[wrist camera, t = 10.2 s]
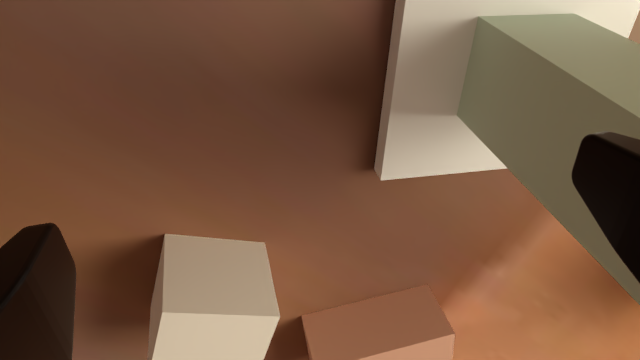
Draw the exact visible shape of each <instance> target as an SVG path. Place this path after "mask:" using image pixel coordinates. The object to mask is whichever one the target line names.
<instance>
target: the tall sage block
mask: <svg viewBox="0 0 640 360" xmlns="http://www.w3.org/2000/svg"><path fill="white" fill-rule="evenodd" d="M457 116H458V117H459V119H460V120H461V121H462V122H463V123H464V124H465V125H466V126H467V127H468V128H469V129H470V130H471V131H472V132H473V133H474V134H475V135H476V136H477V137H478V138H479V139H480V140H481V141H482V142H483V143H484V144H485V145H486V146H487V147H488V149H489V150H490V151H491V152H492V153H493V154H494V155H495V156H496V157H497V158H498V159H499V160H500V161H501V162H502V163H503V164H504V165H505V166H506V167H507V168H508V169H509V170H510V171H511V172H512V173H513V174H514V175H515V176H516V178H517V179H518V180H519V181H520V182H521V183H522V184H523V185H524V186H525V187H526V188H527V189H528V190H529V191H530V192H531V193H532V194H533V195H534V196H535V197H536V198H537V199H538V200H539V201H540V202H541V203H542V204H543V205H544V207H545V208H546V209H547V210H548V211H549V212H550V213H551V214H552V215H553V216H554V217H555V218H556V219H557V220H558V221H559V222H560V223H561V224H562V225H563V226H564V227H565V228H566V229H567V230H568V231H569V232H570V233H571V234H572V235H573V237H574V238H575V239H576V240H577V241H578V242H579V243H580V244H581V245H582V246H583V247H584V248H585V249H586V250H587V251H588V252H589V253H590V254H591V255H592V256H593V257H594V258H595V259H596V260H597V261H598V262H599V263H600V264H601V266H602V267H603V268H604V269H605V270H606V271H607V272H608V273H609V274H610V275H611V276H612V277H613V278H614V279H615V280H616V281H617V282H618V283H619V284H620V285H621V286H622V287H623V288H624V289H625V290H626V291H627V292H628V293H629V294H630V296H631V297H632V298H633V299H634V300H635V301H636V302H637V303H638V304H639V305H640V284H639V282H638V281H637V280H636V278H635V277H634V276H633V274H632V273H631V272H630V271H629V269H628V268H627V267H626V265H625V264H624V263H623V261H622V260H621V259H620V257H619V256H618V255H617V253H616V252H615V250H614V249H613V247H612V246H611V244H610V243H609V241H608V240H607V238H606V237H605V235H604V233H603V232H602V230H601V229H600V227H599V225H598V224H597V222H596V220H595V219H594V217H593V216H592V214H591V212H590V211H589V209H588V208H587V206H586V204H585V203H584V201H583V200H582V198H581V196H580V195H579V193H578V192H577V190H576V188H575V187H574V185H573V182H572V177H571V174H572V169H573V166H574V162H575V159H576V156H577V153H578V149H579V146H580V143H581V141H582V139H583V138H584V137H585V136H586V135H588V134H592V133H598V132H604V131H610V132H614V133H618V134H622V135H625V136H629V137H632V138H636V139H640V44H638V43H636V42H634V41H632V40H630V39H628V38H626V37H623V36H621V35H619V34H617V33H615V32H613V31H611V30H609V29H606V28H604V27H602V26H600V25H598V24H596V23H594V22H592V21H589V20H587V19H585V18H583V17H581V16H579V15H577V14H540V15H507V16H478V20H477V25H476V29H475V34H474V38H473V43H472V48H471V52H470V57H469V61H468V66H467V71H466V75H465V80H464V84H463V89H462V93H461V98H460V103H459V107H458V112H457Z"/></svg>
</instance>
